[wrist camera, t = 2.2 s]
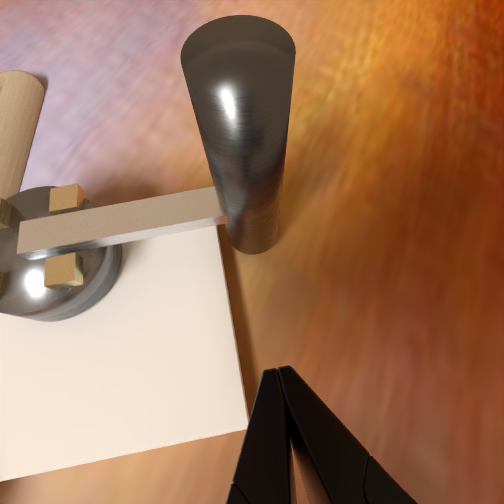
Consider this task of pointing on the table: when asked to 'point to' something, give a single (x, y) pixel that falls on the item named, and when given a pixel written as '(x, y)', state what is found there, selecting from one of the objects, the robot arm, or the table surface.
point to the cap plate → (125, 363)
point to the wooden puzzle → (17, 126)
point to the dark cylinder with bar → (172, 205)
